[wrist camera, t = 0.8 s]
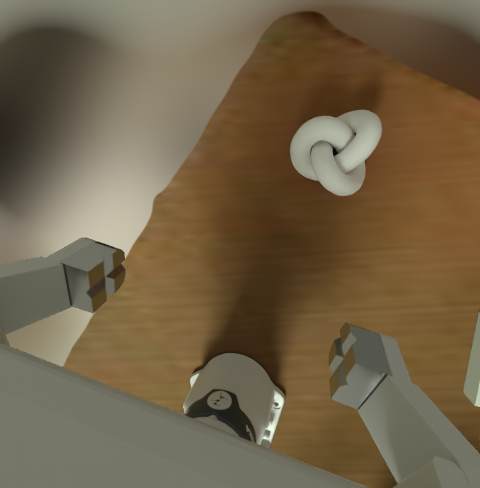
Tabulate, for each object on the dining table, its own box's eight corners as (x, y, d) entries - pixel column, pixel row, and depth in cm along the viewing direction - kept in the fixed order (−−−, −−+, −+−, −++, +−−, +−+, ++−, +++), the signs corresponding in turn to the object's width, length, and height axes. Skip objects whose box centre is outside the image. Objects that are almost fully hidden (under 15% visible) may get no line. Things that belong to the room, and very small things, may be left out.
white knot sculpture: (328, 100, 40) (335, 70, 32) (393, 145, 39) (418, 127, 30) (283, 162, 43) (277, 150, 35) (342, 206, 42) (351, 205, 33)
